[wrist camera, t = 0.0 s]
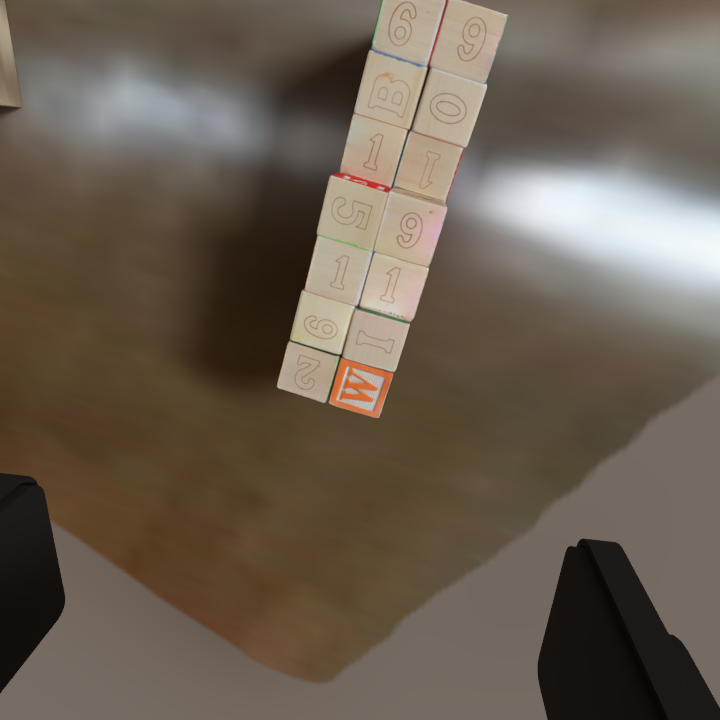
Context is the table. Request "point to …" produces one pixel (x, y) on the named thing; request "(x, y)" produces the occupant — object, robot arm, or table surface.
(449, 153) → the stack of blocks
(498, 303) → the table surface
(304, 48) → the table surface
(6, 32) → the board
